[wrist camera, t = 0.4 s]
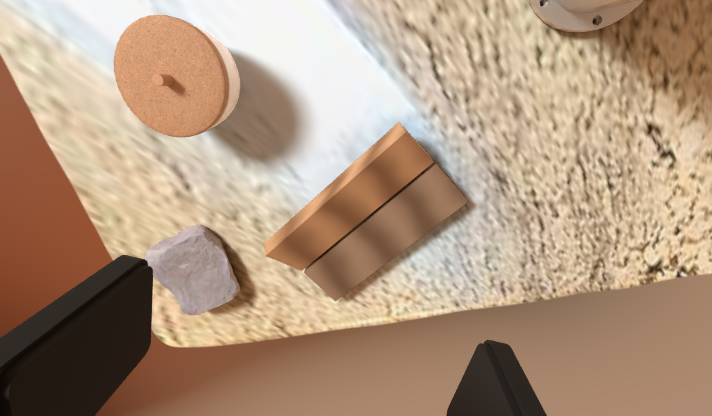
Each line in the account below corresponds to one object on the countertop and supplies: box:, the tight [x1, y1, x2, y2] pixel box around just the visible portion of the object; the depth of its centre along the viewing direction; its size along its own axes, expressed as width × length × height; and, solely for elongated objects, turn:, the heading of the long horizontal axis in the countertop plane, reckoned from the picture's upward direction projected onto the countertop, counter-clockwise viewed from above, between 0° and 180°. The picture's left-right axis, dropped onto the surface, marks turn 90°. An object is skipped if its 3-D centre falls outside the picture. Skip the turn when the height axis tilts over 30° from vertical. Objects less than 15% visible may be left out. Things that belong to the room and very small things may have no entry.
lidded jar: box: [114, 15, 240, 137], centre depth 34 cm, size 11×11×9 cm
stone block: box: [145, 225, 240, 315], centre depth 47 cm, size 12×5×10 cm
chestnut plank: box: [264, 122, 434, 270], centre depth 40 cm, size 22×6×2 cm, turn 133°
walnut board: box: [304, 161, 468, 301], centre depth 43 cm, size 22×6×2 cm, turn 133°
